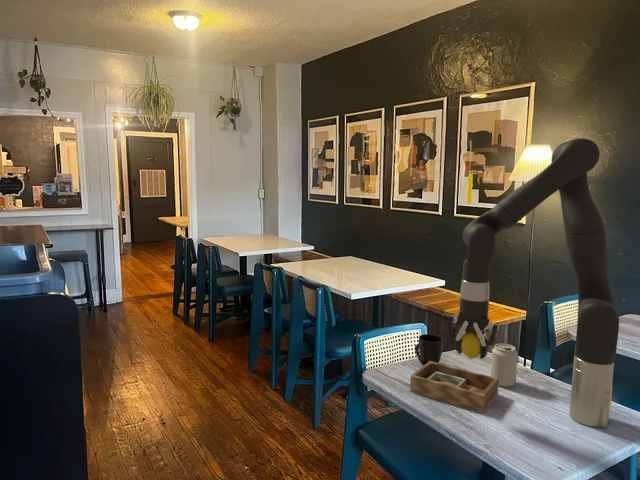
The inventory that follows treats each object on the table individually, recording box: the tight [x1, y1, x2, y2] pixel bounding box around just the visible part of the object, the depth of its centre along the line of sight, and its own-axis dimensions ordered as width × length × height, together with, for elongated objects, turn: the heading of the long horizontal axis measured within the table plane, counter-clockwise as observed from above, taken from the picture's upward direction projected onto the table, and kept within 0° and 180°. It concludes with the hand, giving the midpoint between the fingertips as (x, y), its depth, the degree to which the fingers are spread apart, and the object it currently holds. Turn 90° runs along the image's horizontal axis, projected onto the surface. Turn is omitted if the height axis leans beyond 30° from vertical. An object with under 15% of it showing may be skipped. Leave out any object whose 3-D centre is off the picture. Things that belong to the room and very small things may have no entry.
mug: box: [414, 333, 444, 367], centre depth 163 cm, size 8×12×10 cm
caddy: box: [409, 361, 499, 414], centre depth 143 cm, size 22×14×5 cm, turn 54°
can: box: [490, 343, 519, 388], centre depth 150 cm, size 8×8×12 cm
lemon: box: [461, 332, 481, 360], centre depth 131 cm, size 6×6×8 cm
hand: (470, 355), depth 132 cm, fingers closed on lemon, 5 cm apart
